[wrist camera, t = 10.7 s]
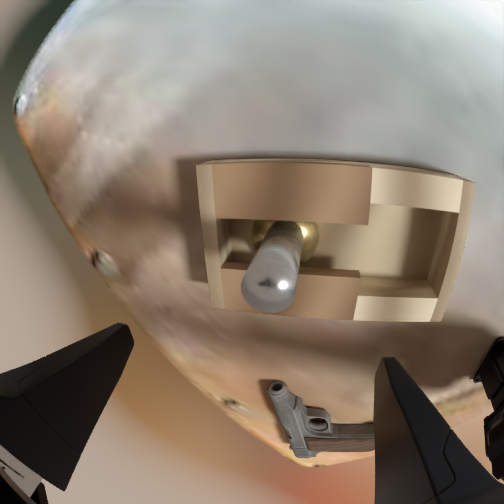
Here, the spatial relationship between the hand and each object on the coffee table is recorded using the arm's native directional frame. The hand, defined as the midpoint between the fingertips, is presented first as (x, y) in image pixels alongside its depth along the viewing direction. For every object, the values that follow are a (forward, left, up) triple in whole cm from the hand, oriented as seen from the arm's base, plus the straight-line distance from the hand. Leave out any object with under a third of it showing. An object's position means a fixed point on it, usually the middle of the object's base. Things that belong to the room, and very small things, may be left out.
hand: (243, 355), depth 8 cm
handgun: (-6, +23, -13) cm, 27 cm away
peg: (0, 0, -12) cm, 12 cm away
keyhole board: (-3, 0, -12) cm, 12 cm away
